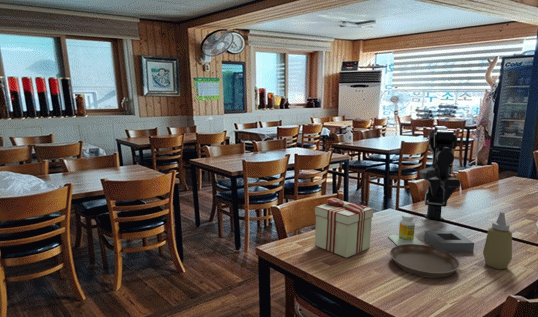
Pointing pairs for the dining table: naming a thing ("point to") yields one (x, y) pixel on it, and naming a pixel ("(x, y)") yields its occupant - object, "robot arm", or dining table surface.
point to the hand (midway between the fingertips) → (439, 198)
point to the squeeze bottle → (498, 244)
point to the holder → (449, 241)
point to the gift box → (343, 227)
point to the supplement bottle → (406, 228)
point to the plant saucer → (424, 260)
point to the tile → (398, 242)
